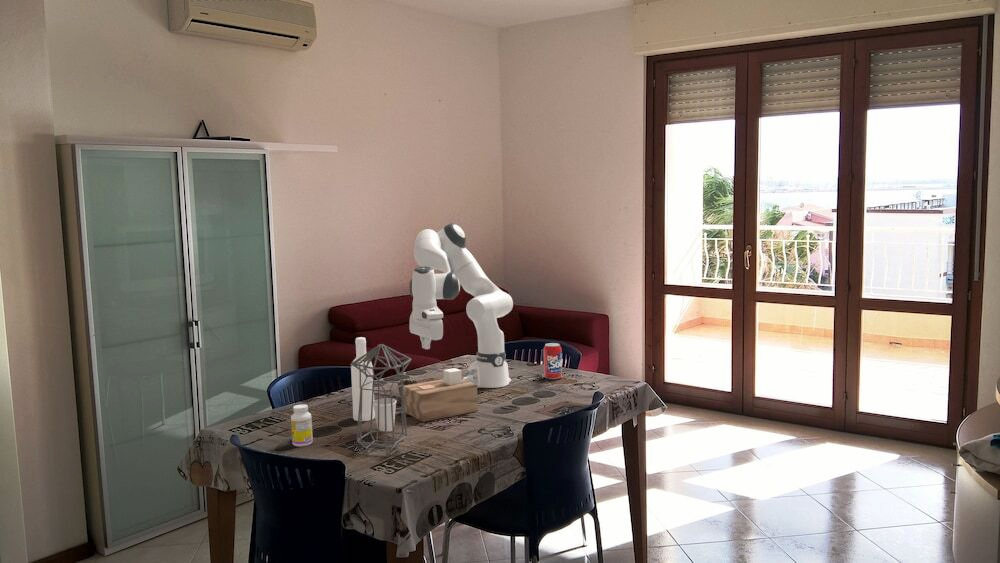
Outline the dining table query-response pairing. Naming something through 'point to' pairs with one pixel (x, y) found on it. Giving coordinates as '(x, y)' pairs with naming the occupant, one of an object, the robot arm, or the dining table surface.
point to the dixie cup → (382, 413)
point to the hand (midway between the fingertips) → (426, 348)
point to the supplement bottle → (301, 426)
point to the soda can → (552, 361)
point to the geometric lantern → (356, 364)
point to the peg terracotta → (426, 387)
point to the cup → (406, 384)
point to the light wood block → (440, 400)
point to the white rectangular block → (452, 376)
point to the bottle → (356, 384)
